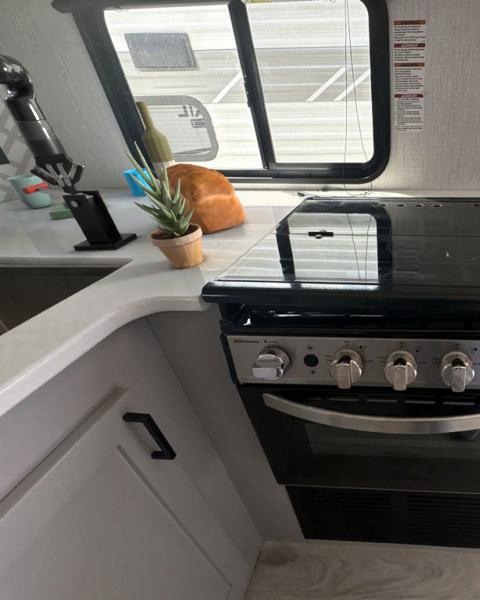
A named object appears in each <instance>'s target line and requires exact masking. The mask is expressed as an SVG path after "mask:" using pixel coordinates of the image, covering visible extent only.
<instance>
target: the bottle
mask: <svg viewBox="0 0 480 600" xmlns="http://www.w3.org/2000/svg"><path fill="white" fill-rule="evenodd" d="M135 106H136V108H137V109H138V112H139V115H140V117H141V120H142V123H143V125H144V127H145V130H144V132H143V134H142V136H141V140H142V144H143V146H144V147H145V150H146V152H147V155H148V157H149V160H150V162H151V164H152V166H153V169H154V172H155V174H156V176H157V178H158V180H159V176H160V175H161V168H162V169H163V161H164V164H165V167H166V168H167V167H170V166H173V165H176V164H177V163H176V161H175V158H174V155H173V152H172V149H171V147H170V143H169V141H168V137H167V136H166V135H164V133H162V132H161V131H159V130H158V129H157V128H156V127H155V124H154V122H153V119H152V116H151V114H150V111H149V108H148V105H147V101H135ZM159 182H160V180H159Z"/></svg>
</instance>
